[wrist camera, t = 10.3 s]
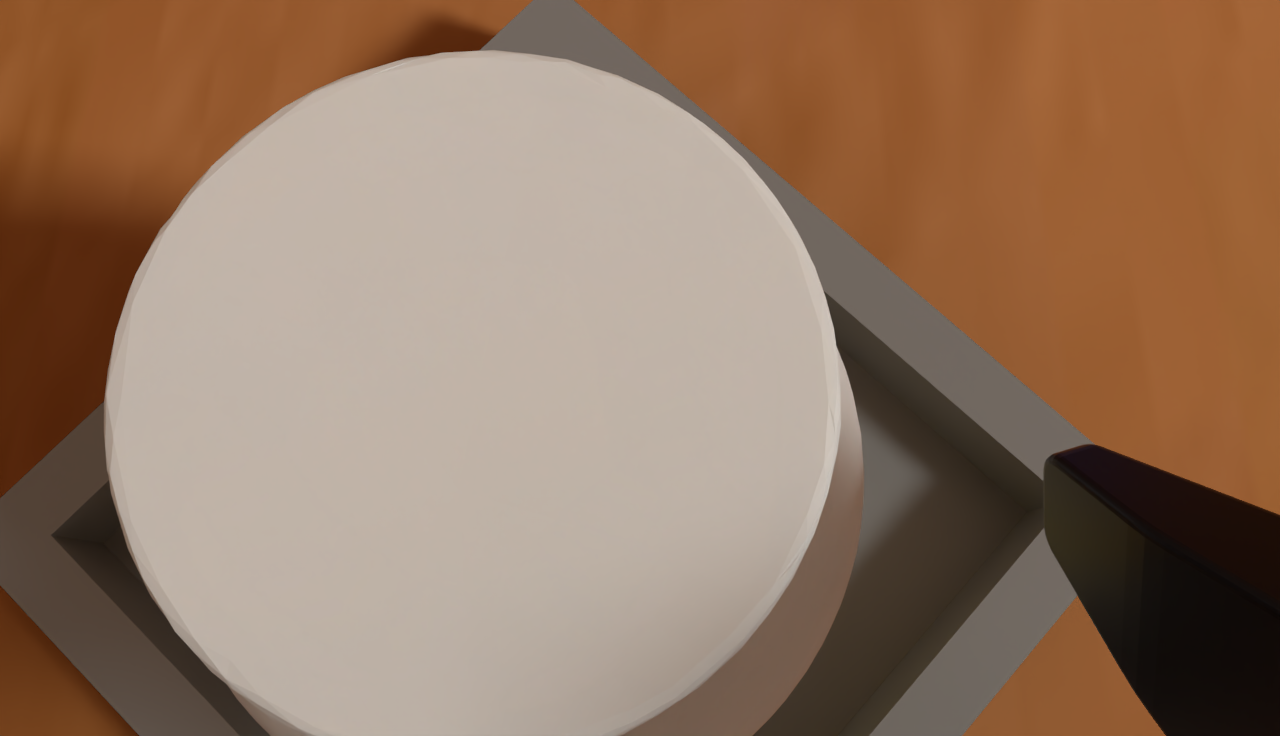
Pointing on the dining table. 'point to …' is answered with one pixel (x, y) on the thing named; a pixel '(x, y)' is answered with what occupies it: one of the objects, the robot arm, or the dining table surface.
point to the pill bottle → (487, 414)
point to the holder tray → (888, 542)
